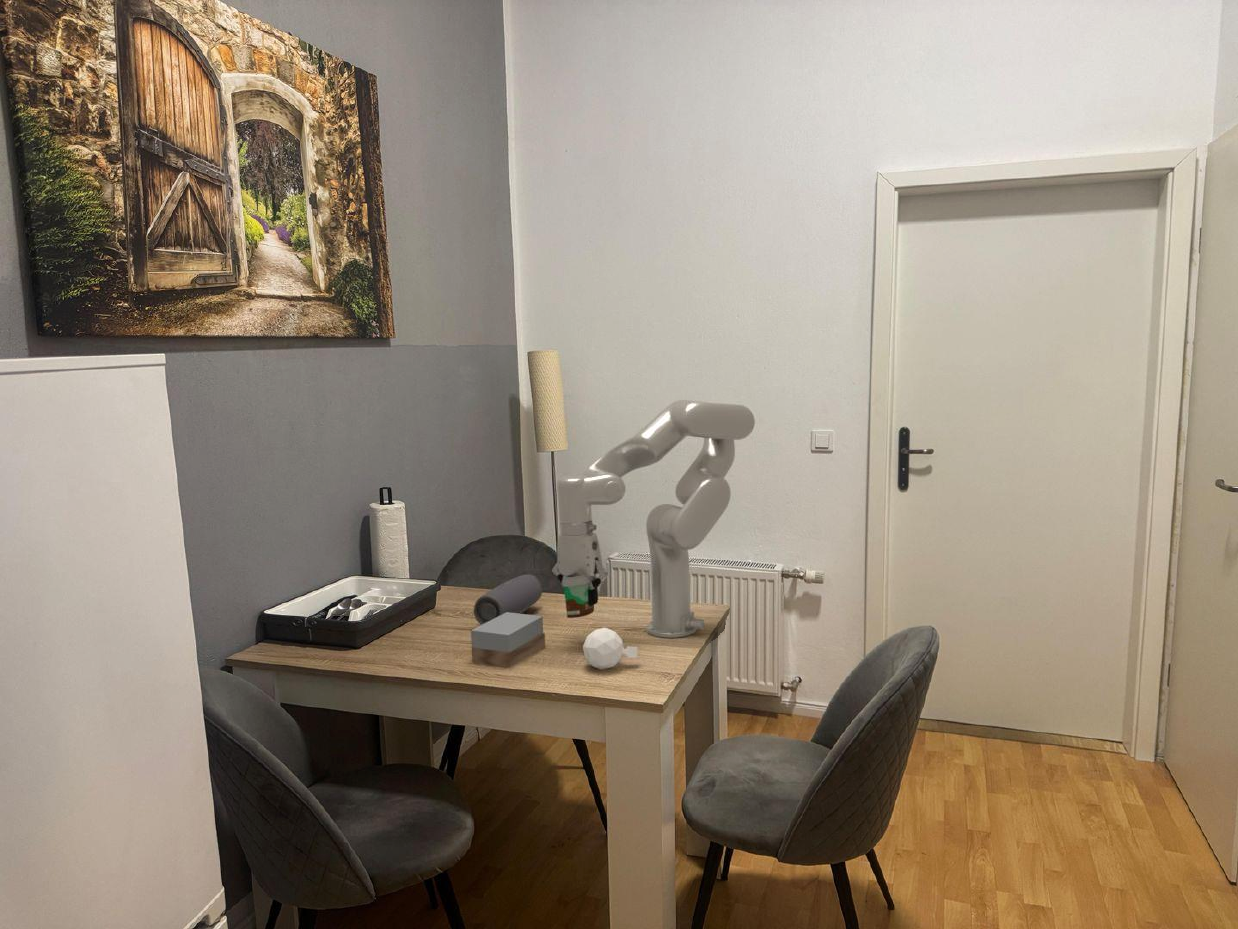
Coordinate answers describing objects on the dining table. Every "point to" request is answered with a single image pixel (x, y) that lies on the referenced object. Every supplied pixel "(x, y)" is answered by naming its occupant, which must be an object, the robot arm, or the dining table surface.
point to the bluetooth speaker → (508, 598)
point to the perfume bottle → (606, 649)
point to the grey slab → (507, 632)
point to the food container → (577, 595)
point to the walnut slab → (508, 653)
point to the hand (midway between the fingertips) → (581, 602)
